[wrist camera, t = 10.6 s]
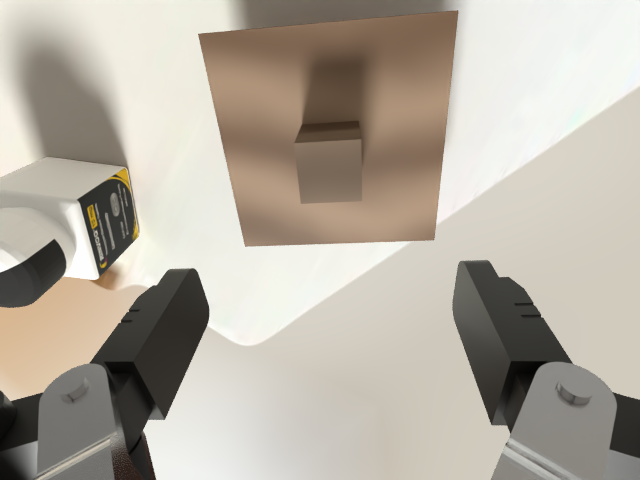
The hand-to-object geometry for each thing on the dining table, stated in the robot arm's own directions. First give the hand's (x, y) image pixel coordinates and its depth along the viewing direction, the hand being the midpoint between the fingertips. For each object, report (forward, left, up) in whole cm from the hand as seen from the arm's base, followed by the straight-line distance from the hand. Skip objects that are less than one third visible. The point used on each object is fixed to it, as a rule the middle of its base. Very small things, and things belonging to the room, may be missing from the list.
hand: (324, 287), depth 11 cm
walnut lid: (0, 0, -15) cm, 15 cm away
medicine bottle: (+5, -22, -20) cm, 30 cm away
